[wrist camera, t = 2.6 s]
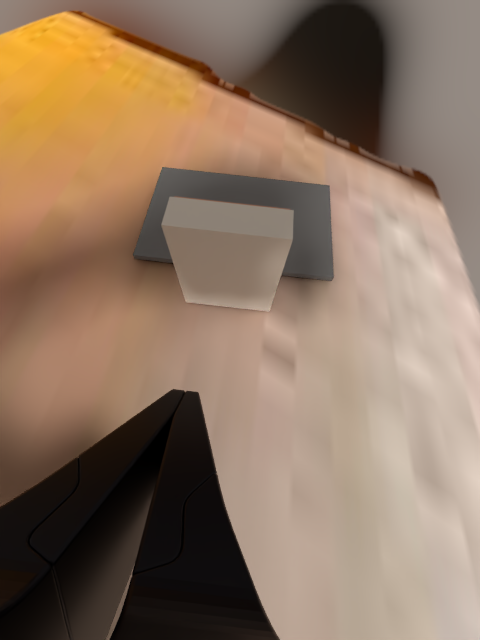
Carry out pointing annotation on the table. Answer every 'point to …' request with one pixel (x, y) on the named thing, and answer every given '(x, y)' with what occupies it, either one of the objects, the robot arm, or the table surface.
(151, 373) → the table surface
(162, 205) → the mat
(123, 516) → the robot arm
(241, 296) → the glazed tile
